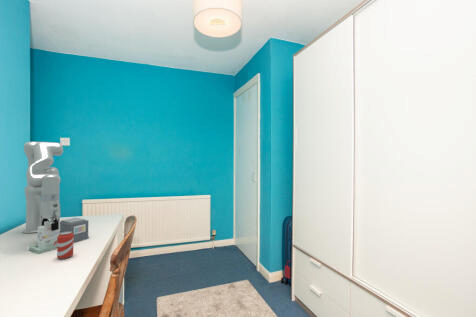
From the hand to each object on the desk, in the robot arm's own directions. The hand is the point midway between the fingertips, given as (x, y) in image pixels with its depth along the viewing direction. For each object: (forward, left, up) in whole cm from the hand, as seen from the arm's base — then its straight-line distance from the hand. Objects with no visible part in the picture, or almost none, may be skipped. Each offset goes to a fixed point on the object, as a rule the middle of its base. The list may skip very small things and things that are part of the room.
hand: (49, 228), depth 123 cm
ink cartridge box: (-1, 0, -10) cm, 10 cm away
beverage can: (+21, -3, -10) cm, 24 cm away
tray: (0, 0, -10) cm, 10 cm away
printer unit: (-2, +13, -10) cm, 17 cm away
